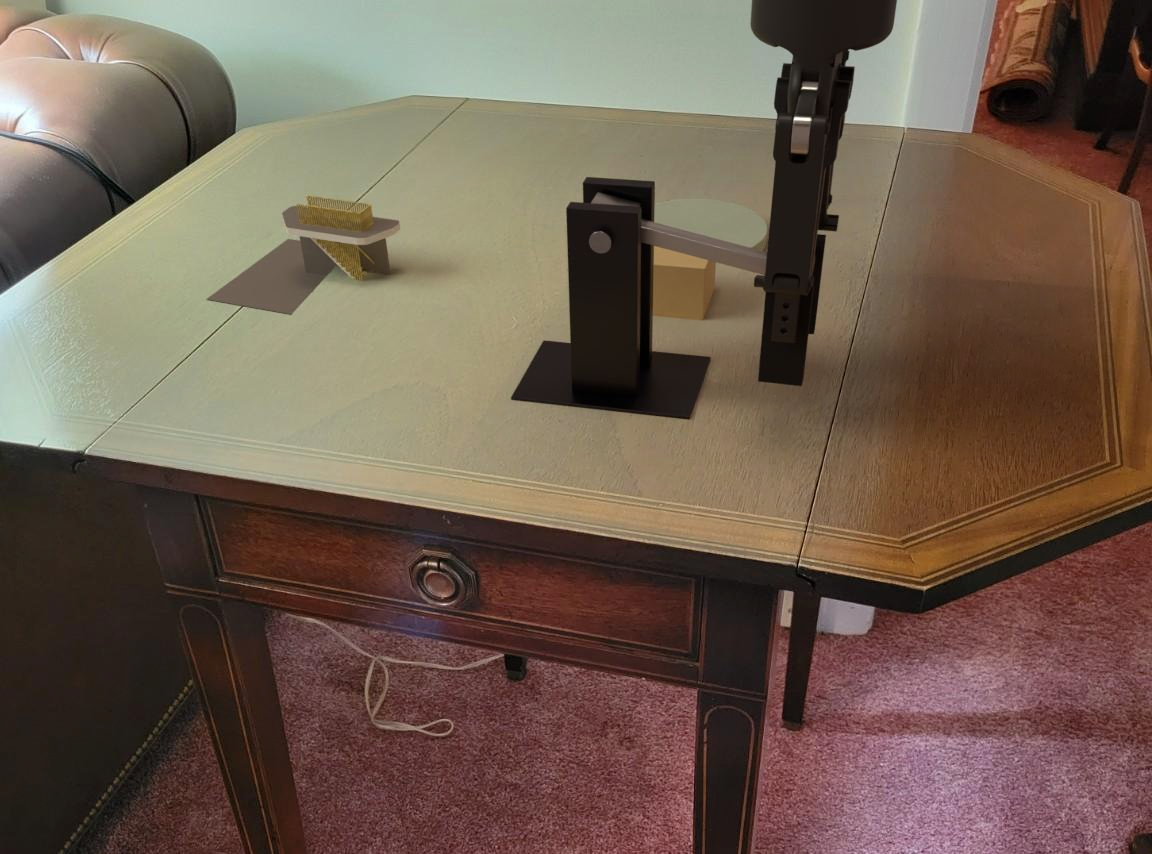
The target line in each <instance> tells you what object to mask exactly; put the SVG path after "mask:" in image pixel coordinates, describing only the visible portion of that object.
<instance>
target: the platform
mask: <svg viewBox="0 0 1152 854" xmlns="http://www.w3.org/2000/svg"><path fill="white" fill-rule="evenodd" d="M305 198H306V200H307V204H304V203H296V205H292V206H289V207H288V208H286V209H285V210H283V211H282V212H281V215H282V220H283V224H284V227H285V230H286V231H285V232H286V234H288V235H290V236H296V237H299V239H293V238H287V239H286V240H284V241H282V243H280V244H279V245H278V246H276V247H275V248H273V249H272V250H271V251H270V252H268V253H267V254H265V255H264V256H262V257H261V258H260V259H259V260H257V261H256V262H255V263H253V264H252V265H251V266H249V267H248V268H247V269H245V270H244V271H242V272H241V273H240V274H238V275H237V276H236V277H234V278H233V279H232V280H230V281H229V282H227V283H226V284H224V285H223V286H221V288H219V289H218V290H216V291H215V292H213V293H212V294H211V295H210V296H208V297H207V298H206V300H207V301H208V300H209V301H214V302H219V303H226V304H231V305H237V306H243V307H248V308H254V309H259V310H265V311H271V312H277V313H282V314H288V315H293V314H294V313H295V311H297V310H298V308H299V307H301V305H302V304H303V303H304V302H305V301H306V300H307V299H308V297H309V296H310V295H311V294H312V293H313V292H314V291H315V290H316V289H317V287H318V286H319V285H320V284H322V282H323V281H324V280H325V279H326V278H327V277H328V276H329V274H331V272H332V271H333V270H334V269H335V268H337V267H338V268H340V269H341V270H342V271H343V272H344V273H345V274H346V275H347V277H349V278H353V280H355V281H362V282H363V281H364V278H363V277H364V276H365V275H367V273H375V274H381V275H382V274H383V275H388V276H390V275H391V269H390V268H391V266H390V260H389V252H388V244H387V238H390V237H392V236H395V235H396V234H397V233H398V232H399V231H400V230H401V224H400V221H399V220H397V219H392V218H384V217H378V216H373V210H372V209H373V208H372V205H373V204H372V203H367V202H359V201H351V200H344V199H338V198H330V197H323V196H316V195H309V194H308V195H306V196H305Z"/></svg>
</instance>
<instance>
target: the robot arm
mask: <svg viewBox="0 0 1152 854" xmlns="http://www.w3.org/2000/svg"><path fill="white" fill-rule="evenodd" d="M897 4H898V0H751V7H750V8H751V10H750V22H749V23H750V30H751V32H752V34H753V35H754V36H755V38H756V39H758V41H760V42H763V43H764V44H766V45H767V46H771V47H773V48H778V47H780V48H782V49H785V50H786V51H788V52H789V53H790V55H792V60H791V63H788V62H783V63H782V67H781V75H780V77H777V78H776V82H775V83H776V84H775V90H774V91H775V92H774V100H773V108H774V110H775V112H776V121H775V128H774V129H775V131H774V141H773V149H772V157H773V160H774V161H775V162H774V163H775V164H774V175H773V183H772V184H773V185H772V193H771V208H770V216H769V217H770V218H769V227H768V237H767V248H766V249H767V250H766V252H767V259H766V270H765V275H762V274H757V275H755V276H754V279H753V288H761V289H762V290H763V292H765V294H764V307H763V319H762V330H761V341H760V352H759V364H758V377H757V382H758V383H768V384H777V385H778V384H779V385H786V386H787V385H788V386H795V387H803V383H804V377H805V369H806V359H807V350H808V342H809V335H815V331H816V324H817V316H818V315H817V314H818V306H819V298H820V289H821V281H822V273H823V265H824V264H823V263H824V256H825V249H826V248H825V247H826V239H827V234H822V233H821V234H819V233H818V232H819V231H824V232H835V233H836V232H838V226H839V219H840V215H839V214H830V213H828V210H829V207H830V206H831V204H832V203H833V194H832V184H833V178H834V177H833V175H834V168H835V167H834V166H835V161H836V160H837V157H838V150H839V141H840V140H841V139H842V137H843V133H844V132H843V131H844V126H845V122H846V113H847V111H848V108H849V101H850V99H851V97H852V92H853V87H854V80H855V79H854V78H855V68H856V66H851V65H846V64H847V62H848V61H849V58H850V50H852V51H855V52H857V51H861V50H865V49H869V48H872V47H874V46H878V45H879V44H881V43H882V42H884V41H885V40H886V39H887V38H888V37H889V36H890V35H891V34H892V31H893V30H894V25H895V19H896V12H897ZM815 248H817V257H816V261H815V265H814V269H813V264H814V256H815ZM812 271H813V273H812Z"/></svg>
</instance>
